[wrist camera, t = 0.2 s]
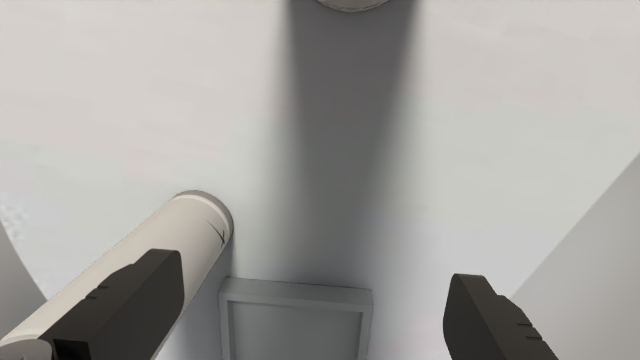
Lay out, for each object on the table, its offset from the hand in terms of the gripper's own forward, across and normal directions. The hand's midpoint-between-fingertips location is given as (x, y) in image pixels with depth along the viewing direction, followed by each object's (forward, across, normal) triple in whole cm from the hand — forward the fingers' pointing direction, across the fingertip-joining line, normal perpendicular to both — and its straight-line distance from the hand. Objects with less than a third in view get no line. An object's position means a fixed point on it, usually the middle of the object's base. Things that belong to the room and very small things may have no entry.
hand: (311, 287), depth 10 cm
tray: (+19, +2, +21) cm, 29 cm away
